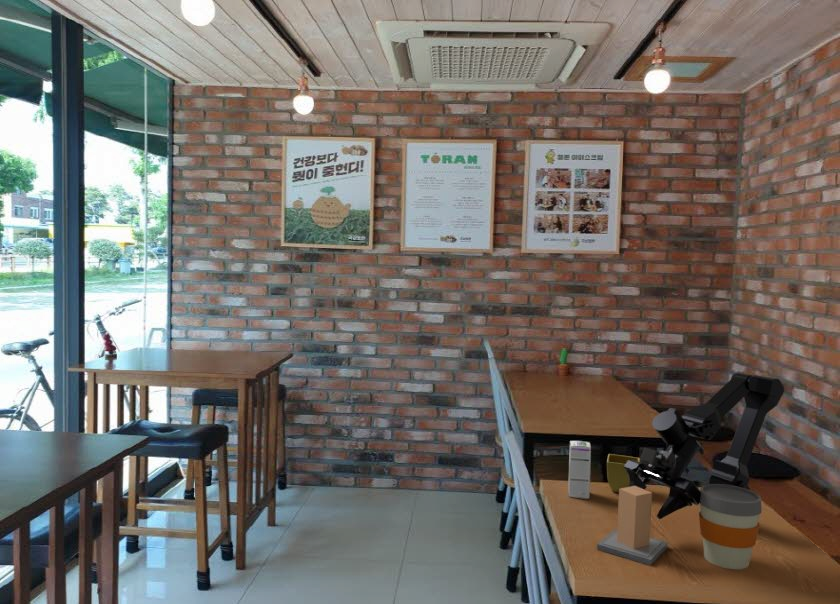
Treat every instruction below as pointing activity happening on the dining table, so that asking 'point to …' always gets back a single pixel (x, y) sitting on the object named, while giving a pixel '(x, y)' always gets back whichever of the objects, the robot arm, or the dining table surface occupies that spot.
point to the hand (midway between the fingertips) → (642, 510)
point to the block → (634, 517)
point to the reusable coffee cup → (729, 524)
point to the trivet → (639, 554)
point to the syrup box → (579, 469)
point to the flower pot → (618, 471)
